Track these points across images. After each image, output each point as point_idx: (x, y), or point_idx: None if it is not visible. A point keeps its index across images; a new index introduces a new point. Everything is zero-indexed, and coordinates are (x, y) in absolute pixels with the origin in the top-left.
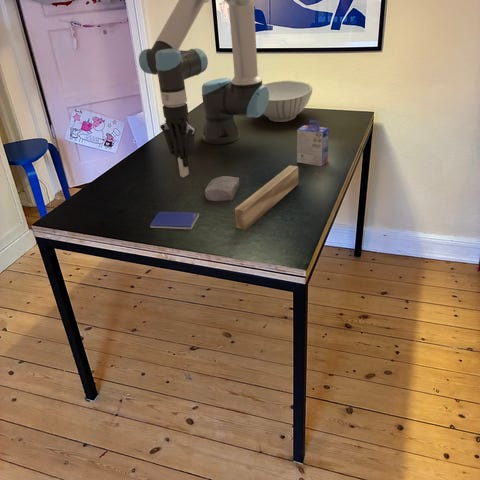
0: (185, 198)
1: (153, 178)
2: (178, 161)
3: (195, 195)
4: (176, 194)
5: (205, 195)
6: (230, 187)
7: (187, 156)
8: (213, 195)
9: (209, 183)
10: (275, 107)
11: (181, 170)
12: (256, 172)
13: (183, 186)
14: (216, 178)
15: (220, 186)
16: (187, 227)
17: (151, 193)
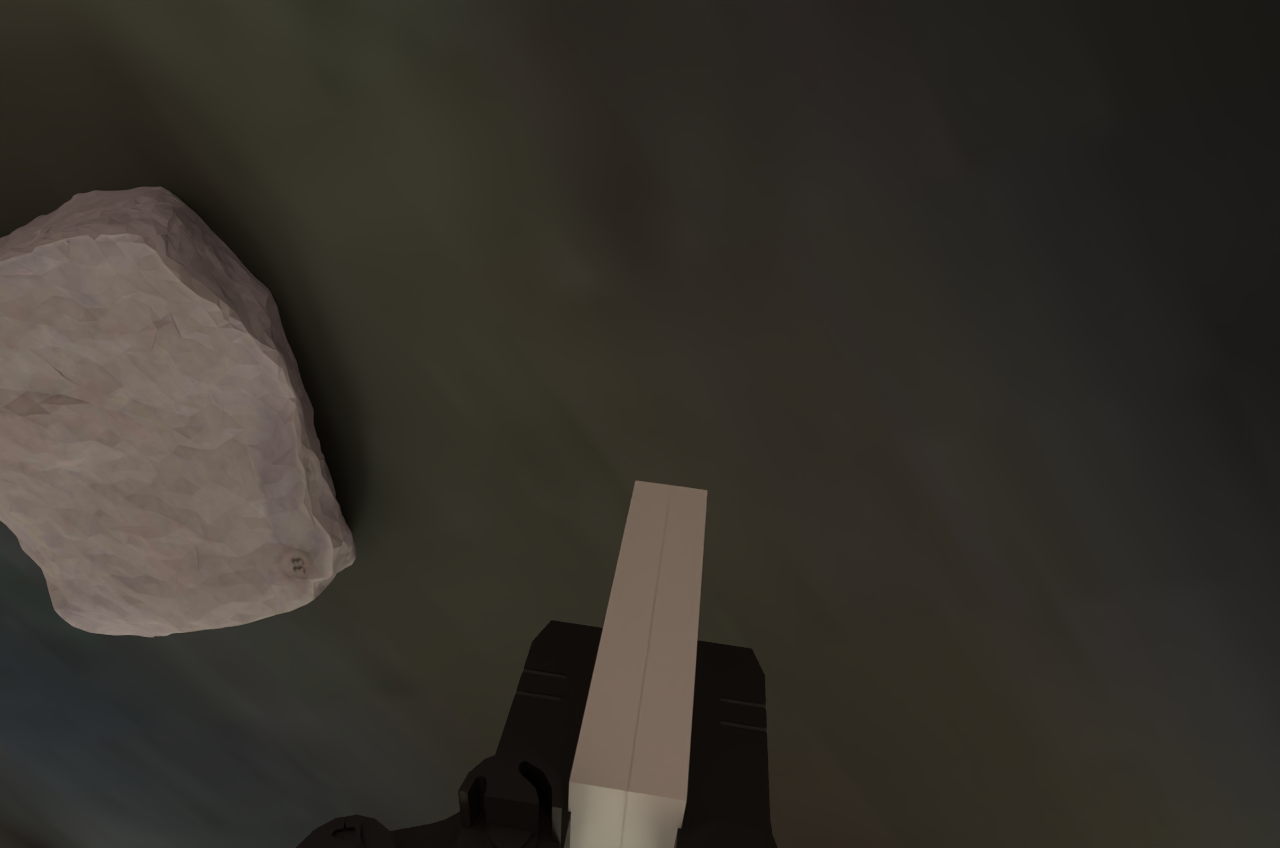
0: (454, 113)
1: (1262, 518)
2: (679, 714)
3: (392, 245)
4: (661, 185)
5: (165, 212)
6: None
7: (327, 839)
8: (44, 225)
9: (294, 471)
10: None
11: (651, 559)
12: (244, 770)
13: (704, 421)
14: (299, 582)
15: None
16: None
17: (1112, 70)
